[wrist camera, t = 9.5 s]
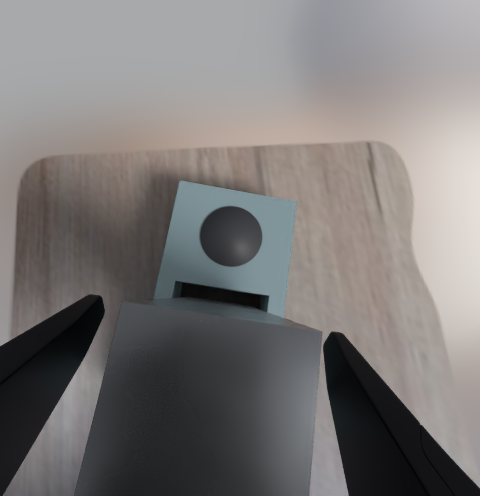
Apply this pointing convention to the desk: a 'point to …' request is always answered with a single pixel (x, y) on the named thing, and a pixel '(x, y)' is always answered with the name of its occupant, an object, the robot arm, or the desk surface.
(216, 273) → the socket block
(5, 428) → the robot arm
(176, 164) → the desk surface
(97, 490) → the square bit
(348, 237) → the desk surface
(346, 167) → the desk surface
